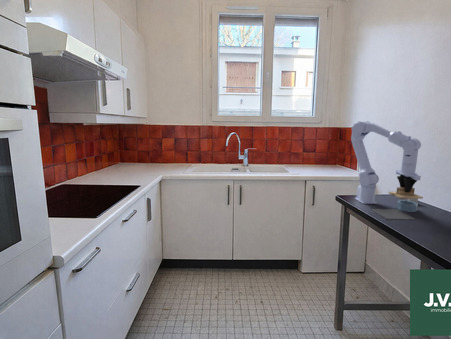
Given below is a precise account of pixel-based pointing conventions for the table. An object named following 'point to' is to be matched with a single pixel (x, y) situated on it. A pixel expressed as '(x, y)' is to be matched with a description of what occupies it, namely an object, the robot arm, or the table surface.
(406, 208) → the bowl
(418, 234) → the table surface
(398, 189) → the lid
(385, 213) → the mat
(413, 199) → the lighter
